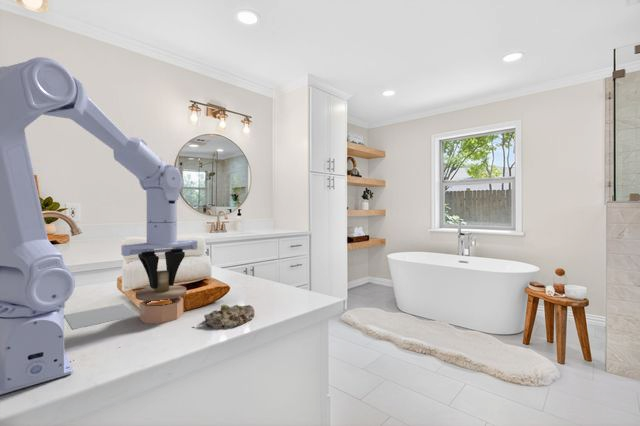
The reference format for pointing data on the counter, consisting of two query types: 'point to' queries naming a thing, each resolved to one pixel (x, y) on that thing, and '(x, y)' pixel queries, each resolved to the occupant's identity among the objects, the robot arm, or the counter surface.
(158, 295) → the lid
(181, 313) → the bowl
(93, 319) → the mat
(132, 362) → the counter surface
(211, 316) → the mineral rock
